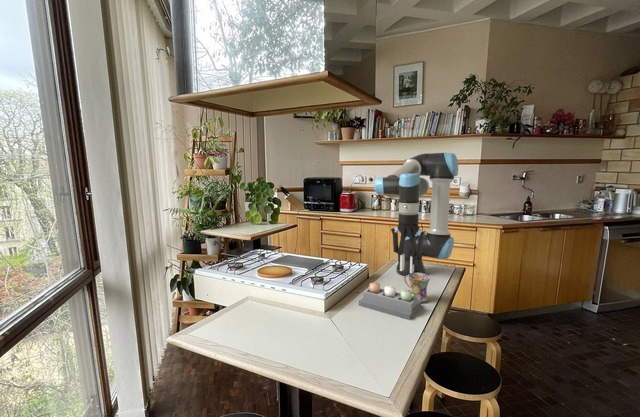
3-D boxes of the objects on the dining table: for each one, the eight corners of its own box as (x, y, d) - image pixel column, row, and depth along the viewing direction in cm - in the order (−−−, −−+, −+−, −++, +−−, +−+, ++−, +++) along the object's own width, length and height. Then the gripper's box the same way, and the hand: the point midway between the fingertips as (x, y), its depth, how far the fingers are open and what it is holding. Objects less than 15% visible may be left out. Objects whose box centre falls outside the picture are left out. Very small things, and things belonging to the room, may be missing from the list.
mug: (433, 299, 135) (434, 276, 133) (421, 306, 129) (422, 281, 127) (409, 291, 144) (410, 269, 142) (397, 297, 138) (398, 274, 136)
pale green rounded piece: (402, 296, 128) (403, 288, 127) (413, 299, 125) (413, 291, 125) (398, 300, 124) (399, 292, 124) (409, 303, 122) (409, 295, 121)
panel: (373, 294, 141) (373, 283, 141) (421, 306, 129) (421, 294, 128) (358, 305, 130) (358, 294, 129) (409, 319, 117) (409, 307, 117)
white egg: (387, 293, 132) (387, 285, 131) (396, 295, 129) (397, 287, 129) (382, 296, 128) (382, 288, 128) (392, 299, 126) (392, 291, 125)
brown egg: (372, 289, 136) (372, 281, 135) (381, 291, 133) (381, 284, 133) (367, 292, 132) (367, 285, 132) (377, 295, 130) (377, 287, 129)
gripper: (384, 212, 122) (383, 269, 125) (426, 216, 112) (424, 278, 115) (392, 210, 128) (391, 265, 131) (432, 213, 118) (430, 272, 121)
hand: (406, 271), depth 123 cm, fingers open, 3 cm apart
